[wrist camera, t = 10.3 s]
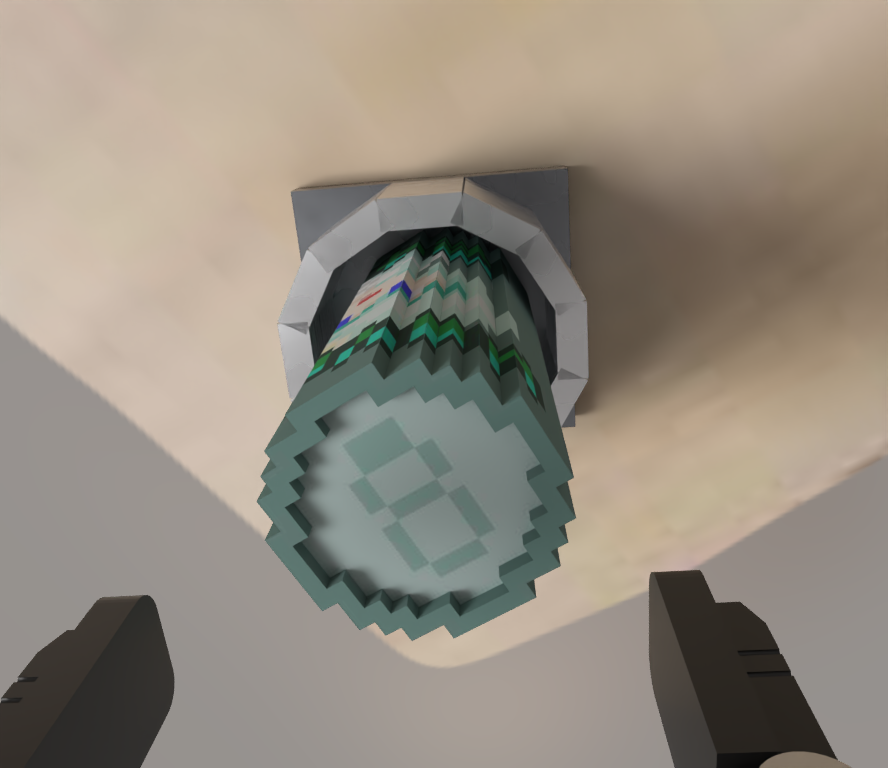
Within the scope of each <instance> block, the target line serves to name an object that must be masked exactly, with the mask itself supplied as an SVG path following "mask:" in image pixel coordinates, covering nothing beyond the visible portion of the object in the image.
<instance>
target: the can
mask: <svg viewBox="0 0 888 768" xmlns="http://www.w3.org/2000/svg"><path fill="white" fill-rule="evenodd" d="M264 452H265V453H266V454H267V455H268V457H269V458H270V461H269V462H268V464H267V466H266V468H265V469H264V471H263V473H262V475H261V478H262V479H263V481H264V482H265V483H266V485H265V487H264V489H263V491H262V492H261V494H260V496H259V498H258V500H257V503H258V504H259V505H260V506H261V508H262V509H263V510H264V511H265V513H266V514H267V515H268V516H269V518H270V519H271V520H272V521H273V524H272V526H271V529H270V531H269V533H268V535H267V537H266V539H265V541H266V542H267V544H268V545H269V546H270V547H271V549H272V550H273V551H274V552H275V553H276V555H277V556H278V557H279V558H280V559H281V561H282V562H283V563H284V564H285V566H286V567H287V568H288V569H289V571H290V572H291V573H292V574H293V576H294V577H295V578H296V579H297V580H298V582H299V583H300V584H301V586H302V587H303V588H304V589H305V590H306V591H307V593H308V594H309V595H310V596H311V598H312V599H313V600H314V602H315V603H316V604H317V605H318V606H319V608H320V609H321V610H322V611H324V610H325V609H327V608H329V607H331V606H333V605H335V604H337V603H338V604H339V605H340V606H341V608H342V609H343V610H344V611H345V613H346V614H347V615H348V616H349V618H350V619H351V620H352V621H353V622H354V624H355V625H356V626H357V628H358V629H359V630H361V629H363V628H365V627H367V626H369V625H371V624H372V623H374V622H375V623H376V624H377V625H378V626H379V628H380V629H381V630H382V631H383V633H384V634H385V635H388V634H390V633H392V632H394V631H396V630H398V629H400V628H402V629H403V630H404V631H405V633H406V634H407V635H408V637H409V638H410V639H411V640H412V641H413V640H415V639H417V638H419V637H421V636H423V635H425V634H427V633H429V632H431V631H433V630H435V629H437V628H439V627H441V626H443V625H444V626H445V627H446V629H447V630H448V631H449V633H450V634H451V635H452V637H453V638H456V637H458V636H460V635H462V634H464V633H466V632H468V631H470V630H472V629H474V628H476V627H478V626H480V625H482V624H484V623H486V622H488V621H490V620H492V619H494V618H496V617H498V616H500V615H502V614H504V613H506V612H508V611H510V610H512V609H514V608H516V607H518V606H520V605H522V604H524V603H526V602H528V601H530V600H532V599H534V598H536V591H535V583H534V579H536V578H538V577H540V576H542V575H544V574H546V573H548V572H550V571H552V570H554V569H556V568H558V567H560V566H561V565H560V560H559V554H558V547H560V546H562V545H564V544H566V543H568V539H567V534H566V529H565V524H566V523H568V522H570V521H572V520H574V519H575V518H576V516H575V512H574V507H573V503H572V499H571V495H570V490H569V486H568V482H567V481H569V480H570V479H572V478H574V476H573V472H572V468H571V464H570V460H569V456H568V452H567V448H566V445H565V441H564V437H563V433H562V429H561V425H560V421H559V417H558V413H557V409H556V405H555V401H554V397H553V393H552V389H551V385H550V381H549V377H548V373H547V369H546V366H545V362H544V358H543V354H542V350H541V346H540V342H539V338H538V334H537V330H536V326H535V322H534V318H533V314H532V310H531V306H530V302H529V298H528V294H527V292H526V290H525V289H524V287H523V285H522V284H521V282H520V280H519V279H518V277H517V276H516V274H515V272H514V271H513V269H512V267H511V266H510V264H509V262H508V261H507V259H506V258H505V256H504V254H503V253H502V251H501V249H500V248H497V249H495V250H494V251H492V252H491V253H489V251H488V249H487V248H486V246H485V245H484V243H483V241H482V240H481V238H480V237H479V236H477V235H476V236H475V237H473V238H472V239H470V240H468V238H467V237H466V235H465V233H464V232H463V231H462V232H460V233H459V234H457V235H456V236H454V237H453V235H452V234H451V232H450V230H449V229H448V227H447V228H446V229H444V230H443V231H441V232H440V233H438V234H436V235H435V236H433V237H432V238H430V239H429V238H428V237H427V235H426V234H425V232H424V230H422V231H420V232H419V233H417V234H416V235H414V236H413V237H411V238H410V239H408V240H406V241H405V242H403V243H402V244H400V245H399V246H397V247H396V248H394V249H392V250H391V251H389V252H388V253H386V254H385V255H383V256H381V257H380V258H378V259H377V261H376V263H375V264H374V266H373V268H372V269H371V271H370V273H369V274H368V276H367V278H366V279H365V281H364V283H363V284H362V286H361V288H360V289H359V291H358V293H357V295H356V296H355V298H354V300H353V301H352V303H351V305H350V306H349V308H348V310H347V311H346V313H345V315H344V316H343V318H342V320H341V321H340V323H339V325H338V327H337V328H336V330H335V332H334V333H333V335H332V337H331V338H330V340H329V342H328V343H327V345H326V347H325V348H324V350H323V352H322V353H321V355H320V357H319V359H318V360H317V362H316V364H315V365H314V367H313V369H312V370H311V372H310V374H309V375H308V377H307V379H306V380H305V382H304V384H303V385H302V387H301V389H300V391H299V392H298V394H297V396H296V397H295V399H294V401H293V402H292V404H291V406H290V407H289V409H288V411H287V412H286V414H285V417H284V419H283V420H282V422H281V424H280V426H279V427H278V429H277V431H276V432H275V434H274V436H273V437H272V439H271V441H270V442H269V444H268V446H267V448H266V449H265V451H264Z"/></svg>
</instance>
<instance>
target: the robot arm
mask: <svg viewBox="0 0 888 768" xmlns="http://www.w3.org/2000/svg"><path fill="white" fill-rule="evenodd" d="M649 661H650V670H651V678H652V685H653V690H654V694H655V698H656V702H657V706H658V709H659V713H660V717H661V720H662V724H663V727H664V731H665V734H666V738H667V742H668V745H669V748H670V752H671V756H672V759H673V763H674V767H675V768H851V767H850V766H848V765H846V764H844V763H842V762H840V761H838V759H837V758H836V756H835V754H834V752H833V751H832V749H831V747H830V745H829V743H828V741H827V739H826V737H825V735H824V733H823V731H822V730H821V728H820V726H819V724H818V722H817V720H816V718H815V716H814V714H813V713H812V710H811V708H810V707H809V705H808V703H807V701H806V699H805V697H804V695H803V693H802V691H801V690H800V688H799V686H798V684H797V682H796V680H795V678H794V676H791V671H790V669H789V667H788V665H787V663H786V661H785V659H784V657H783V655H782V654H780V652H779V648H778V646H777V644H776V642H775V640H774V638H773V636H772V634H771V632H770V631H769V629H768V627H767V625H766V623H765V622H764V621H762V620H761V619H760V618H759V617H758V616H756V615H755V614H754V613H753V612H752V611H750V610H749V609H748V608H747V607H746V606H744V605H743V604H742V603H741V602H727V603H715V600H714V598H713V596H712V594H711V592H710V589H709V587H708V585H707V583H706V581H705V578H704V576H703V574H702V572H701V571H700V570H690V571H669V572H651V574H650V579H649ZM173 694H174V673H173V668H172V664H171V660H170V656H169V652H168V648H167V645H166V641H165V637H164V633H163V629H162V626H161V622H160V618H159V614H158V611H157V607H156V604H155V602H154V600H153V599H152V598H151V597H150V596H148V595H140V596H120V597H102V598H100V599H99V600H97V601H96V603H95V604H94V605H93V607H92V608H91V609H90V610H89V612H88V613H87V614H86V615H85V617H84V618H83V619H82V621H81V622H80V623H79V625H78V626H77V627H76V629H75V630H67V631H66V632H64V633H63V634H62V635H60V636H59V637H58V638H56V639H55V640H54V641H52V642H51V643H50V644H48V645H47V646H46V647H44V648H43V649H42V650H41V651H39V652H38V653H37V654H36V655H35V657H34V658H33V659H32V660H31V662H30V663H29V664H28V665H27V667H26V668H25V669H24V670H23V672H22V673H21V674H20V675H19V677H18V682H15V683H13V684H12V685H11V687H10V688H9V689H8V690H7V692H6V693H5V694H4V695H3V697H2V698H1V703H0V768H140V767H141V765H142V763H143V761H144V759H145V757H146V755H147V753H148V751H149V749H150V748H151V746H152V744H153V742H154V740H155V738H156V736H157V734H158V732H159V730H160V728H161V726H162V724H163V722H164V720H165V718H166V716H167V714H168V712H169V709H170V707H171V704H172V699H173Z"/></svg>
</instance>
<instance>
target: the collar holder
mask: <svg viewBox="0 0 888 768" xmlns="http://www.w3.org/2000/svg"><path fill="white" fill-rule="evenodd" d="M291 196H292V203H293V210H294V216H295V223H296V230H297V236H298V243H299V250H300V256H301V265H300V268H299V270H298V273H297V275H296V278H295V280H294V283H293V285H292V288H291V290H290V292H289V295H288V297H287V300H286V302H285V305H284V307H283V310H282V312H281V315H280V317H279V320H278V322H279V323H278V324H277V325H278V331H279V337H280V343H281V349H282V355H283V361H284V367H285V373H286V379H287V385H288V391H289V397H290V398H292V399H291V401H292V402H293V401H294V399H295V397H296V396H297V394H298V392H299V391H300V389H301V387H302V385H303V384H304V382H305V380H306V379H307V377H308V375H309V374H310V372H311V370H312V369H313V367H314V365H315V364H316V362H317V360H318V359H319V357H320V355H321V353H322V352H323V350H324V348H325V347H326V345H327V343H328V342H329V340H330V338H331V337H332V335H333V333H334V332H335V330H336V328H337V327H338V325H339V323H340V321H341V320H342V318H343V316H344V315H345V313H346V311H347V310H348V308H349V306H350V305H351V303H352V301H353V300H354V298H355V296H356V295H357V293H358V291H359V289H360V288H361V286H362V284H363V283H364V281H365V279H366V278H367V276H368V274H369V273H370V271H371V269H372V268H373V266H374V264H375V263H376V261H377V259H378V258H380V257H381V256H383V255H385V254H386V253H388V252H389V251H391V250H392V249H394V248H396V247H397V246H399V245H400V244H402V243H403V242H405V241H406V240H408V239H410V238H411V237H413V236H414V235H416V234H417V233H419V232H420V231H422V230H424V232H425V234H426V235H427V237H428V238H429V239H430V238H432V237H433V236H435V235H436V234H438V233H440V232H441V231H443V230H444V229H446V228H447V227H448V229H449V230H450V232H451V234H452V235H453V237H454V236H456V235H457V234H459V233H460V232H462V231H463V232H464V233H465V235H466V237H467V238H468V240H470V239H472V238H473V237H475V236H476V235H477V236H479V237H480V238H481V240H482V241H483V243H484V245H485V246H486V248H487V249H488V251H489V253H491V252H492V251H494V250H495V249H497V248H500V249H501V251H502V253H503V254H504V256H505V258H506V259H507V261H508V262H509V264H510V266H511V267H512V269H513V271H514V272H515V274H516V276H517V277H518V279H519V280H520V282H521V284H522V285H523V287H524V289H525V290H526V292H527V294H528V298H529V302H530V306H531V310H532V314H533V318H534V322H535V326H536V330H537V334H538V338H539V342H540V346H541V350H542V354H543V358H544V362H545V366H546V369H547V373H548V377H549V381H550V385H551V389H552V393H553V397H554V401H555V405H556V409H557V413H558V417H559V421H560V425H561V427H575V402H576V401H577V399H578V397H579V395H580V394H581V392H582V390H583V388H584V387H585V385H586V383H587V381H588V379H587V378H589V371H588V327H587V301H586V298H585V296H584V294H583V292H582V290H581V288H580V287H579V285H578V283H577V281H576V279H575V277H574V275H573V274H572V272H571V262H570V228H569V194H568V168H567V167H565V166H559V167H547V168H535V169H523V170H511V171H500V172H488V173H476V174H464V175H452V176H440V177H429V178H417V179H405V180H393V181H381V182H369V183H358V184H346V185H334V186H322V187H310V188H298V189H295V190H293V191H291Z"/></svg>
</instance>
